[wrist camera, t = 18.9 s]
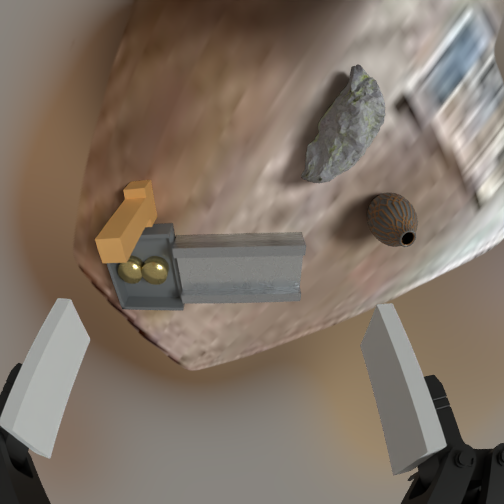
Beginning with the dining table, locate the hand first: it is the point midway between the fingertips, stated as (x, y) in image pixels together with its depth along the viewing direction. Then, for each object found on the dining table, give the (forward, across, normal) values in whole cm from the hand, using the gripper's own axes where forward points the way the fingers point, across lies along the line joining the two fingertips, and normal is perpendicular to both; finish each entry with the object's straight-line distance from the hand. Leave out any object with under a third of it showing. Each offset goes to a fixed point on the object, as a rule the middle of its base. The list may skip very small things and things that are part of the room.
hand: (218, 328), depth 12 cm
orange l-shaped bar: (+29, -13, -8) cm, 33 cm away
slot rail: (+29, 0, -18) cm, 34 cm away
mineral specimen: (+30, +13, +3) cm, 33 cm away
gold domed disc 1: (+28, -17, -19) cm, 38 cm away
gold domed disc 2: (+28, -13, -19) cm, 36 cm away
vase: (+30, +21, -9) cm, 37 cm away
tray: (+29, -14, -19) cm, 37 cm away
